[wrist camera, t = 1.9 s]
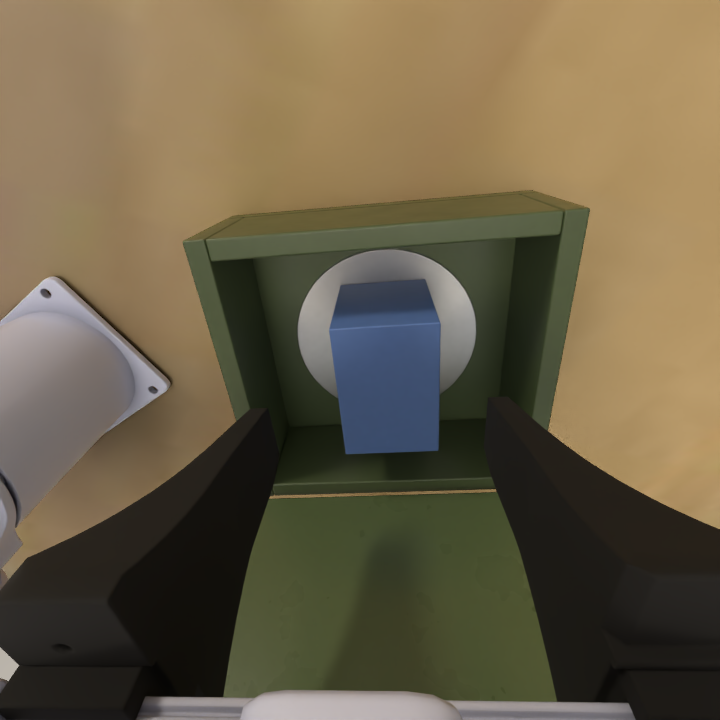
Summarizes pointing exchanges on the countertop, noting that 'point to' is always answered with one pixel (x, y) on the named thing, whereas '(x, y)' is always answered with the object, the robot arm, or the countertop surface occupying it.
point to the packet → (387, 366)
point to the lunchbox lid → (389, 601)
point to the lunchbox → (415, 233)
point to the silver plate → (387, 268)
